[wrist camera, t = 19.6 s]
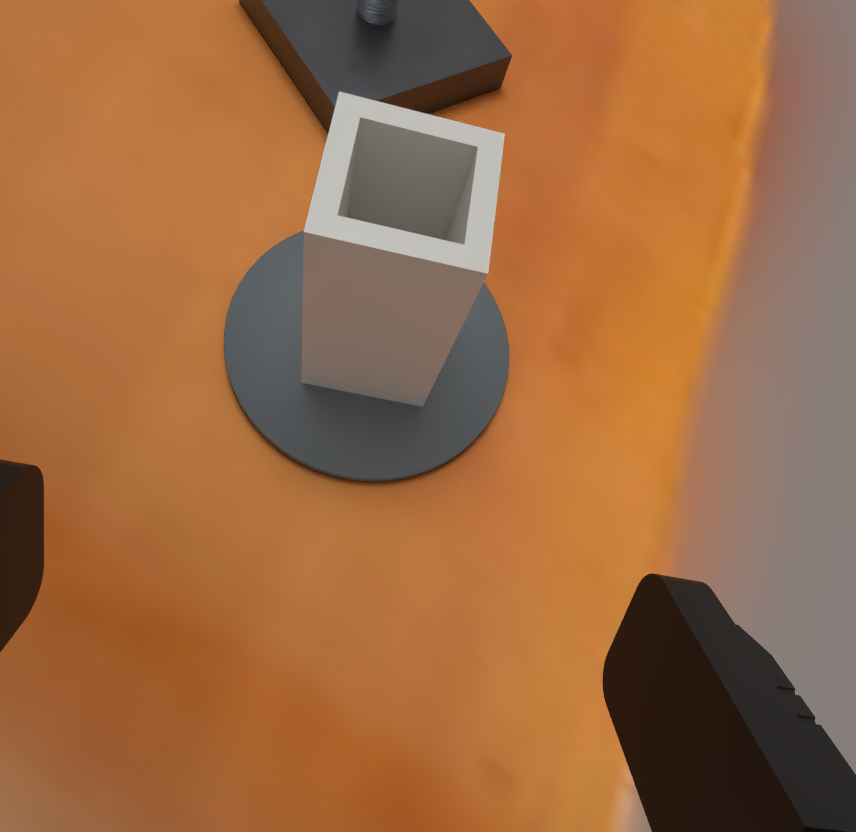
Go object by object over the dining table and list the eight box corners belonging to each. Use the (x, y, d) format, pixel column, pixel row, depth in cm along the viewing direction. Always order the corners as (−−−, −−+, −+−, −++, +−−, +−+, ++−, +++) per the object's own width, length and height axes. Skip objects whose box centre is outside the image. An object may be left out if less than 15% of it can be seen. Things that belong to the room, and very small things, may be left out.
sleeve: (422, 406, 27) (487, 273, 18) (301, 382, 26) (303, 231, 17) (438, 303, 29) (504, 133, 19) (325, 278, 28) (338, 91, 19)
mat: (315, 537, 25) (315, 535, 24) (174, 290, 27) (171, 282, 27) (556, 399, 29) (561, 394, 28) (414, 194, 31) (416, 185, 31)
